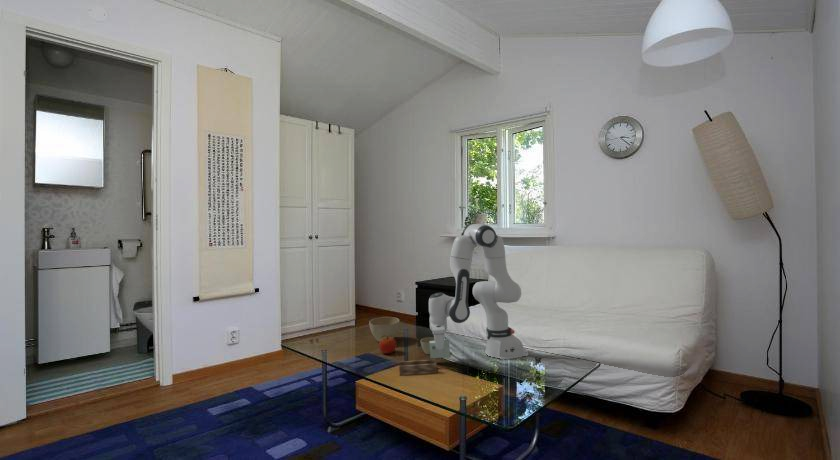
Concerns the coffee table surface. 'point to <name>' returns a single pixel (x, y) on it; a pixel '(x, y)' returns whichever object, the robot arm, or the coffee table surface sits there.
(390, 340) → the fruit
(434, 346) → the pale mint flat box
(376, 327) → the large beige bowl
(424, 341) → the bowl
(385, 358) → the coffee table surface
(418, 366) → the brown flat wooden block
